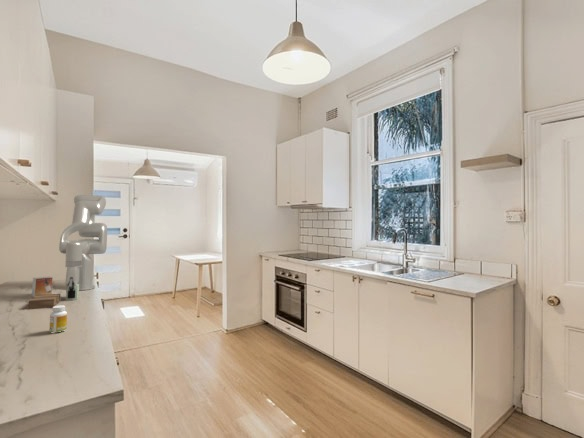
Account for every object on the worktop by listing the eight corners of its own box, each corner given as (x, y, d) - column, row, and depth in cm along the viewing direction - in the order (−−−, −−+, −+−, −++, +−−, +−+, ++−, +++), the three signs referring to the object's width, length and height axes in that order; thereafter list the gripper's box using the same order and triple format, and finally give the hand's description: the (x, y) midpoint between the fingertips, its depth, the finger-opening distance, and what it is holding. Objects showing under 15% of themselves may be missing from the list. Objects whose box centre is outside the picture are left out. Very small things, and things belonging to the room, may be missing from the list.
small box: (34, 297, 176) (35, 278, 176) (31, 296, 180) (32, 277, 180) (52, 295, 183) (52, 277, 183) (48, 294, 186) (49, 276, 186)
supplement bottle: (69, 328, 127) (70, 304, 127) (62, 333, 122) (63, 308, 122) (53, 329, 126) (54, 304, 126) (46, 334, 121) (47, 308, 121)
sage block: (67, 298, 176) (68, 284, 176) (78, 297, 178) (79, 283, 178) (65, 300, 171) (66, 285, 172) (76, 299, 174) (77, 285, 174)
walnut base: (36, 302, 166) (37, 295, 166) (60, 301, 170) (60, 293, 170) (28, 309, 153) (28, 301, 153) (53, 307, 157) (53, 299, 157)
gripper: (68, 262, 181) (67, 294, 181) (62, 266, 166) (60, 300, 166) (84, 262, 185) (83, 293, 184) (79, 265, 169) (77, 299, 169)
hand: (72, 296), depth 175 cm, fingers closed on sage block, 5 cm apart
